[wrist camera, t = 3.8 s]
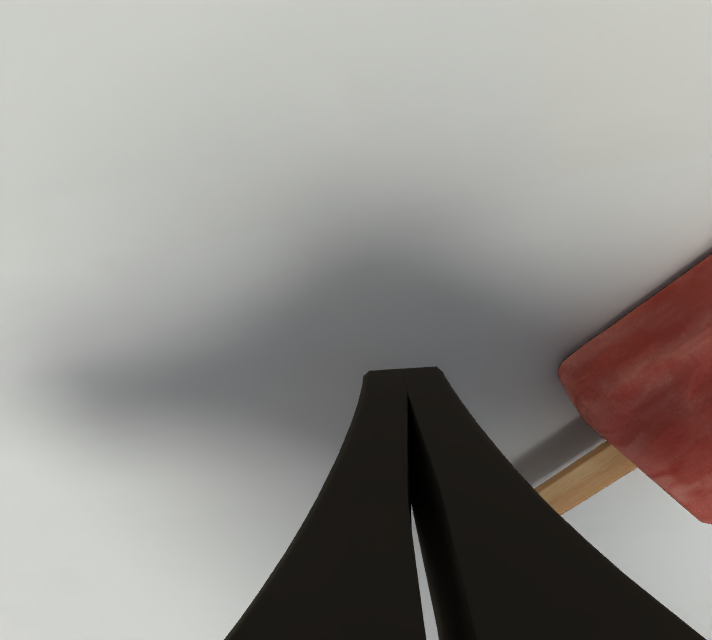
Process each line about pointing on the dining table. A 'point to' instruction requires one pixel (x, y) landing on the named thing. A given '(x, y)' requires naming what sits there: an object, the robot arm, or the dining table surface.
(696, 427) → the popsicle
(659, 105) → the dining table surface
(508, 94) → the dining table surface
